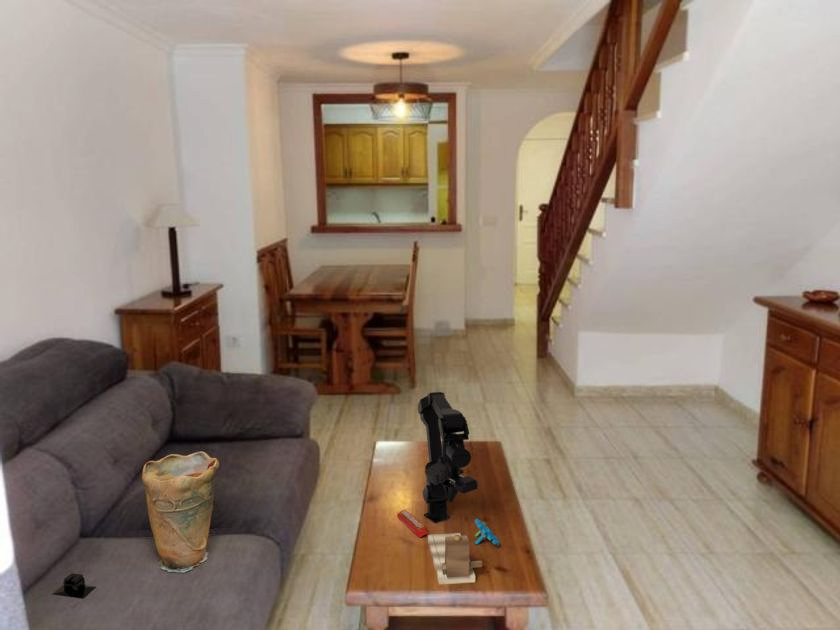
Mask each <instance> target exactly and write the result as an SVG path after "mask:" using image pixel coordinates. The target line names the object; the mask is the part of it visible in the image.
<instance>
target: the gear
mask: <svg viewBox="0 0 840 630" xmlns="http://www.w3.org/2000/svg"><path fill="white" fill-rule="evenodd" d="M474 523H475V524H476V525H477V528H478V529H479V531H477V532H476V533H475V535H474V536H475V537H476V538H478V539H476V540H475V541H474V543H475V544H476V545H479V543H481V542H482V541H483V539H486V538H487V539H488V540H489V541H491V543H492V544H494V545H496V547H498V546H499V545H500V544H501V543H500V540H498V537H497V535H495V534H494V532H493V531H492V530H491V529H490V528H489V527H488V526H487V524H486V523H485V522H483V521H482V520H481V519H478V518H476V519H475V520H474ZM480 534H481V535H480ZM479 535H480V537H478V536H479Z"/></svg>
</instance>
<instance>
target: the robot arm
mask: <svg viewBox="0 0 840 630" xmlns="http://www.w3.org/2000/svg"><path fill="white" fill-rule="evenodd" d="M417 412H418V414H419V418H420V421H421V422H422V423H423V425H424V426H425V430H426V440H427V442H426V443H427V449H428V450H427V451H428V461H429V462H427V463H426V465H425V467H424V473H425V477H426V480H425V483H426V485H425V486H424V488H423V490H422V499H424V502H425V503H426V504H427V509H426V510H427V512H425V513H423V517H425V518H427V520H429V521H431V522H432V523H435V524H437V523H439V522H442V521H445V520H448V519H450V518H451V515H450V514H448V503H451V504H452V503H453V502H454V500H455V498H456V497H457V495H458V493H460V494H467V493H469V492H472V491H476V490H478V489H479V488H478V487H479V481H477V480H476V479H475V478H474V477H471V476H470V475H466V476H463V475H462V474H464V469H462V468H466V467H467V466H468V465H469V464H470V463H471V459H472V455H471V452H470V451H469V449H468V448H467V447H466V445H465V443H464V441H468V440H469V435H470V429H469V427H468V421H467V419H466V417H465V416H464V414H463V413H462V412H461V411H460V410H457V409H453V407H452V406H451V404H450V403H449V401H448V400H447V398H446V396H445V393H444V392H442V391H434V392H433V391H432V392H429V393H427V395H426V396H424V397H423V398H420V399H419V402H418V403H417Z"/></svg>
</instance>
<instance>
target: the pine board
mask: <svg viewBox="0 0 840 630" xmlns="http://www.w3.org/2000/svg"><path fill="white" fill-rule="evenodd" d="M454 535H460V536H462V535H461V532H454V533H453V532H451V533H450V532H449V533H437V534H436V533H435V534H427V543H428V547H429V550H430V555H431V558H432V563H433V566H434V570H435V573H436V578H437V581H438V584H439V586H440V585H451V584H453V585H454V584H455V585H456V584H468V583H476V574H475V570H474V569H473V568H469V576H468V577H453V578H447V576H446V573H445V574H443V569H442V563H445V537H447V536H454ZM469 561H471V560H470V558H469Z"/></svg>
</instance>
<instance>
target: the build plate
mask: <svg viewBox="0 0 840 630" xmlns="http://www.w3.org/2000/svg"><path fill="white" fill-rule="evenodd" d="M85 580H86V579H85V577H84V574H80V573H70V574H69V575H67V576H66V577H64V578H63V585H62V586H60V587H59V588H57V590H55V591H53V593H52V594H51V595H53V596H60V597H67V598H74V599H81V600H83V599H85V598H86V597H87V596H88V595H90V594H91V593H92V592H93V591H94V590H95V589H96V588H97V586H95V585H87V584H86V581H85Z"/></svg>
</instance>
